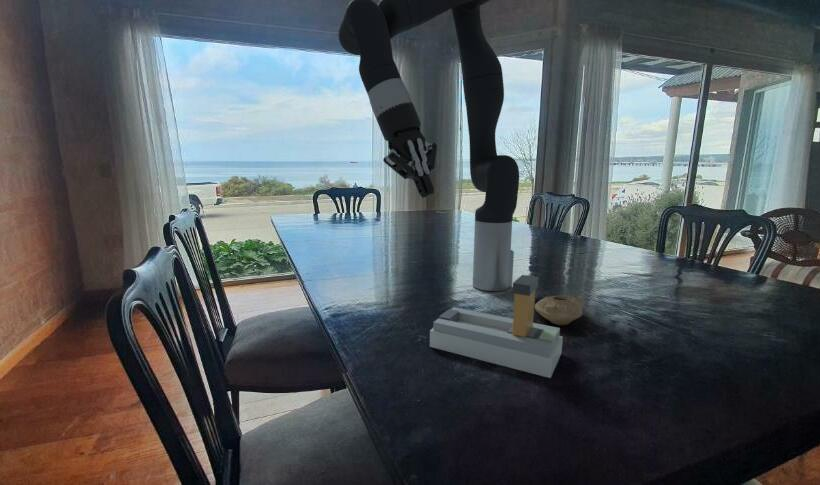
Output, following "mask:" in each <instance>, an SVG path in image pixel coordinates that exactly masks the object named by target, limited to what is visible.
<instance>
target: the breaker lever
mask: <svg viewBox="0 0 820 485" xmlns="http://www.w3.org/2000/svg"><path fill="white" fill-rule="evenodd" d="M538 287H539V276H533V275H525V274H521V275H520V276H519V277H518V278H517V279H515V281H514V282H512V294H514V301H513V302H514V303H513V318H512V319H513V325H512V327H511V328H510V329H509V330H508V331H507V333H509V334H513V335H517V336H522V337H527V338H532V339H537V337H538V329H536V328H532V327H533V323H534V316H535V315H534V314H535V304H536V303H535V302H536V289H537V288H538Z"/></svg>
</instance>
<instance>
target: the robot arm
mask: <svg viewBox="0 0 820 485" xmlns="http://www.w3.org/2000/svg"><path fill="white" fill-rule="evenodd" d="M490 1H491V0H379V2H378V4H377V3H376V2H375V1H374V0H350V1H349V4H348V5H347V7H346V9H345V12H344V15H343V17H342V21H341V23H340V25H339V29H338V41H339V43H340V45H341V47H342V49H343V50H345V51H346V52H347V53H349V54H351V55H354V56H359V64H358V73H359V76H360V80H361V81H362V84H363V86H364V89H365V92H366V94H367V96H368V100H369V104H370V107H371V109H372V112H373V114H374V117H375V119H376V120H375V121H376V122H377V125H378V127H379V130H380V131H381V134H382V137H383V139H384V140H385V141H386V142H387V143H388V144H387V146H388V150H389V152H388V153H387V155H386V156H384V157H383V159H382V160H383V163H384V164H386V165H387V166H388V167H389V168H390V169H392V170H393V171H394V172H395V173H396V174H398V175H399V176H400V177H401V178H403V179H404V180H409V179H410V180H411V181H413V183H414V185H415V186H416V189H417V192H418V194H419V196H420V197H421V198H422V199H425V198H427V197H429V196H431V195H433V194H434V193H435V189H434V188H435V187H434V185H433V183H432V181H431V177H430V175H429V174H430V173H431V171H432V170H434V169H435V165H436V157H437V150H438V149H437V148H438V145H437V143H435V142H432V143H430V142H428V141H427V140H426V137H425V136H424V135H423V133H422V131H421V127H422V126H421V124H422V123H421V120H420V118H419V116H418V113H417V110H416V108H415V105H414V102H413V99H412V97H411V95H410V93H409V90H408V88H407V87H406V85H405V83H404V81H403V79H402V76H401V74H400V71H399V69H398V67H397V64H396V62H395V60H394V55H393V49H392V42H391V40H392V39H393V38H395V37H397V36H398V35H400V34H402V33H405V32H408V31H410V30H413V29H415V28H417V27H419V26H421V25H423V24H425V23H427V22H429V21H431V20H433V19H435V18H437V17H438V16H441V15H442V14H444V13H446V12H448V11H450V10H451V14H452V18H453V23H454V29H455V33H456V38H457V39H456V40H457V45H458V46H457V47H458V52H459V58H460V60H459V61H460V65H461V75H462V86H463V87H462V89H463V96H464V102H465V109H466V117H467V118H466V119H467V128H468V138H469V141H468V142H469V173H470V174H469V175H470V179H471V183H472V185H473V187H474V188H476V190H478V191H479V192H482V193H485V196H484V202H483V204H482V205H481V206H479V207H477V208H476V209H475V211H474V235H473V236H474V238H473V264H472V265H473V266H472V268H473V269H472V287H474V288H475V289H477V290H480V291H487V292H502V291H507V290H508V289H510V288H513V275H514V260H515V258H514V257H515V255H514V254H515V252H514V250H512V235H513V234H512V233H513V230H512V229H513V217H514V213H515V211H516V209H517V205H518V204H517V203H518V195H519V187H520V170H519V169H520V168H519V165H518V163H517V161H516V160H515V159H514V158H513V157H512V156H510V155H506V154H501V155H500V154H498V153H497V151H498V150H497V144H496V132H497V131H496V130H497V125H498V123H499V122H498V121H499V118H500V115H501V113H502V108H503V105H504V100H505V85H504V76H503V68H502V64H501V62H500V60H499V58H498V56H497V54H496V52H495V51H494V49H493V48H492V47H491V45H490V44H489V42H488V40H487V38H486V37H485V34H484V31H483V27H482V20H481V6H483V5H485V4H486V3H489V2H490Z"/></svg>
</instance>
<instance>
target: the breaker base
mask: <svg viewBox="0 0 820 485" xmlns="http://www.w3.org/2000/svg"><path fill="white" fill-rule="evenodd" d="M432 325H433V327H432V328H431V329H430V330H429V347H430V348H433V349H437V350H441V351H445V352H449V353H452V354H456V355H461V356H464V357H469V358H471V359H476V360H480V361H484V362H487V363H490V364H494V365H495V364H496V365H498V366H502V367H507V368H509V369H514V370H518V371H521V372H526V373H529V374H533V375H538V376H541V377H544V378H549V379H551V378H552V376H553V373H554V371H555V369H556V367H557V364H558V363H559V360H560V357H561V355H562V352H563V351H562V349H563V340H564V339H563V338H564V337H563V336H561V335H560V332H561V328H560V327H556V326H550V325H546V324H542V323H536V322H533V327H532V328H536V329H538V337H537V339H532V338H527V337H522V336H517V335H513V334H509V333H507V331H508V330H509V329H510V328H511V327H512V325H513V318H511V317H505V316H500V315H495V314H492V313H491V314H489V313H485V312H481V311H475V310H470V309H465V308H461V307H454V306H453V307H452V308H449V309H447V310H446V311H445V312H443V313H441V314H440V315H439V316H438V318H437V319H436V320H434V321H433V324H432Z"/></svg>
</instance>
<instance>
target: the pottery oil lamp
mask: <svg viewBox="0 0 820 485" xmlns="http://www.w3.org/2000/svg"><path fill="white" fill-rule="evenodd" d="M585 303H586V302H585V300H584V297H582V296H579V295H576V294H564V295H563V294H562V295H553V296H552V295H551V296H545V297H544V298H541V299H540V300H538V302H536V303H534V310H535V311H536V312H537V313H538V314H539V315H540V316H542V317H543V318H544V319H546V320H548V321H549V322H550V323H551V324H554V325H558V326H567V325H569V324H571V322H574V321H575V320H577V319H579V318H581V317H582V316H583V307H584V306H585Z"/></svg>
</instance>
